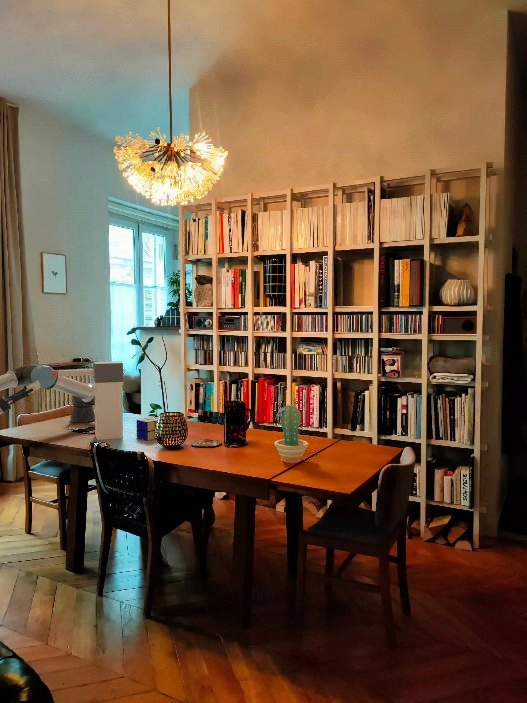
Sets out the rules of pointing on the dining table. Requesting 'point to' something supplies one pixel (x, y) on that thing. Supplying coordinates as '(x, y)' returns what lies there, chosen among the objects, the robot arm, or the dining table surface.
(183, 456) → the dining table surface
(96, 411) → the socket stand
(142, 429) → the puzzle cube
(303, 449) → the potted cactus
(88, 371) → the plug rod
